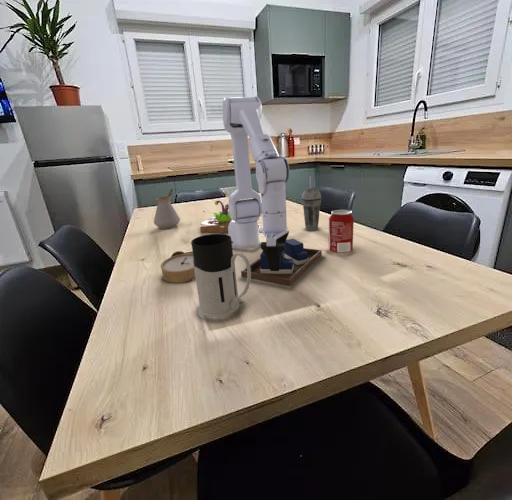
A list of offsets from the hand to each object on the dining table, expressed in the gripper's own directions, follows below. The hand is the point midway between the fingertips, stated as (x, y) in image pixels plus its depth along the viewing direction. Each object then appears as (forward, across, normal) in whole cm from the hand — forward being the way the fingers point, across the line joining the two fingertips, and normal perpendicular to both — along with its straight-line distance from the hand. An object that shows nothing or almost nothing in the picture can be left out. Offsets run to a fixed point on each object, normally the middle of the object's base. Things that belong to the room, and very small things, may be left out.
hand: (276, 264), depth 75 cm
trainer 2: (+2, -8, +4) cm, 9 cm away
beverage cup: (+3, -42, +8) cm, 43 cm away
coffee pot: (+3, -55, -57) cm, 79 cm away
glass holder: (+3, +20, -7) cm, 21 cm away
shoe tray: (+3, -4, +1) cm, 5 cm away
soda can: (+3, -16, +17) cm, 23 cm away
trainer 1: (+2, 0, 0) cm, 2 cm away
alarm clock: (+3, -1, -25) cm, 25 cm away
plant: (+3, -48, -28) cm, 55 cm away
